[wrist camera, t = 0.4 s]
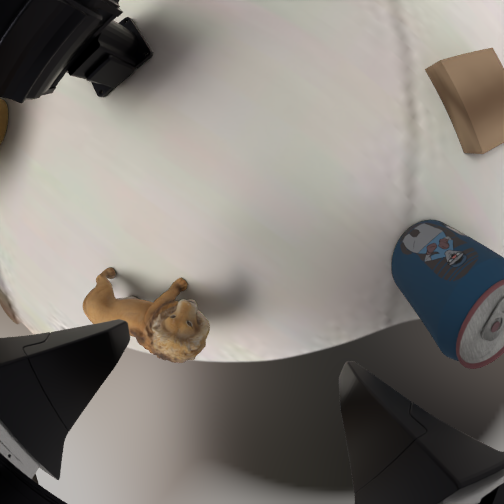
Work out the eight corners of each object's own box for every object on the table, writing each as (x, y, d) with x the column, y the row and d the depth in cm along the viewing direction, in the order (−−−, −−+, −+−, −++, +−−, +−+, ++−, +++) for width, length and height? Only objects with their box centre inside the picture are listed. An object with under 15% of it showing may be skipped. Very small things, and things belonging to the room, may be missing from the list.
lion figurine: (223, 264, 24) (189, 320, 15) (230, 316, 26) (204, 384, 17) (93, 265, 26) (37, 304, 18) (106, 309, 28) (59, 354, 19)
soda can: (430, 298, 22) (490, 380, 11) (373, 277, 22) (426, 370, 11) (461, 233, 20) (546, 288, 8) (405, 203, 20) (495, 250, 9)
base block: (424, 69, 16) (440, 60, 13) (476, 54, 13) (492, 47, 11) (464, 152, 17) (483, 154, 15) (509, 128, 15) (528, 128, 12)
